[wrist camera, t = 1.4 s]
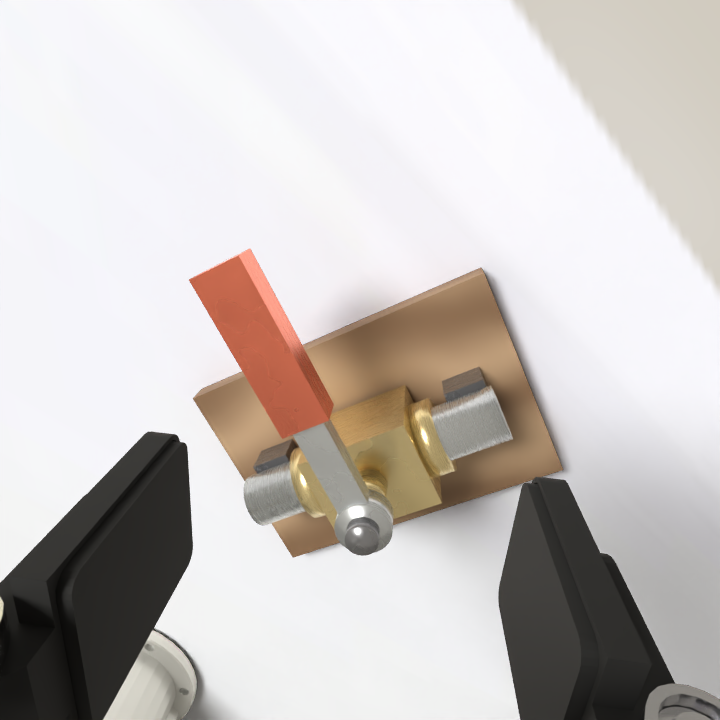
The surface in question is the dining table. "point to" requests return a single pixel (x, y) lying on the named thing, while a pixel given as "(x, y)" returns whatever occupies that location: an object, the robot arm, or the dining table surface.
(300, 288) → the dining table surface
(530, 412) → the base board
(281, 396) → the lever
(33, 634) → the robot arm
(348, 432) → the ball valve
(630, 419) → the dining table surface
